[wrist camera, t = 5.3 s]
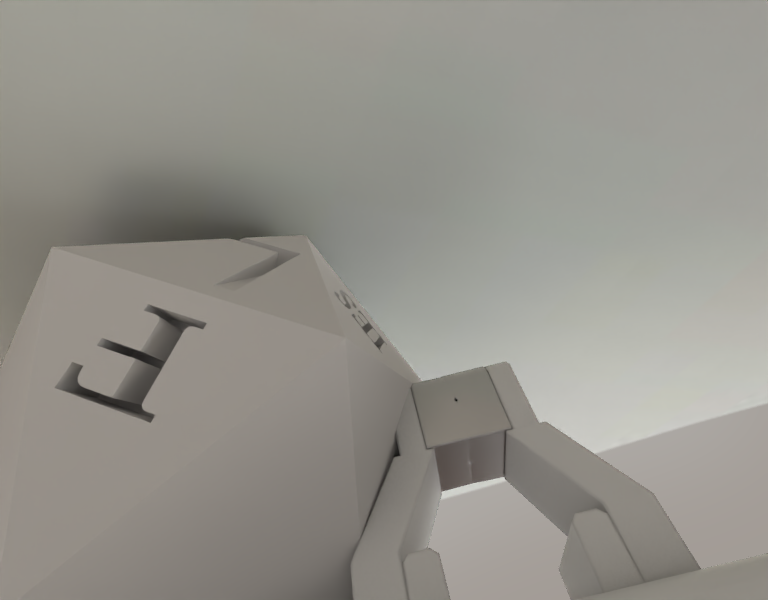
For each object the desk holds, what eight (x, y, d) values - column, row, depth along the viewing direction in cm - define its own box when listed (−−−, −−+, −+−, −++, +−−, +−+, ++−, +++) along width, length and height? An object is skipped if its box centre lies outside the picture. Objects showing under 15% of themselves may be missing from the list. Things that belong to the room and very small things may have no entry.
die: (473, 271, 13) (460, 374, 4) (396, 530, 15) (253, 1058, 6) (214, 200, 15) (-288, 142, 5) (171, 446, 17) (-266, 754, 7)
